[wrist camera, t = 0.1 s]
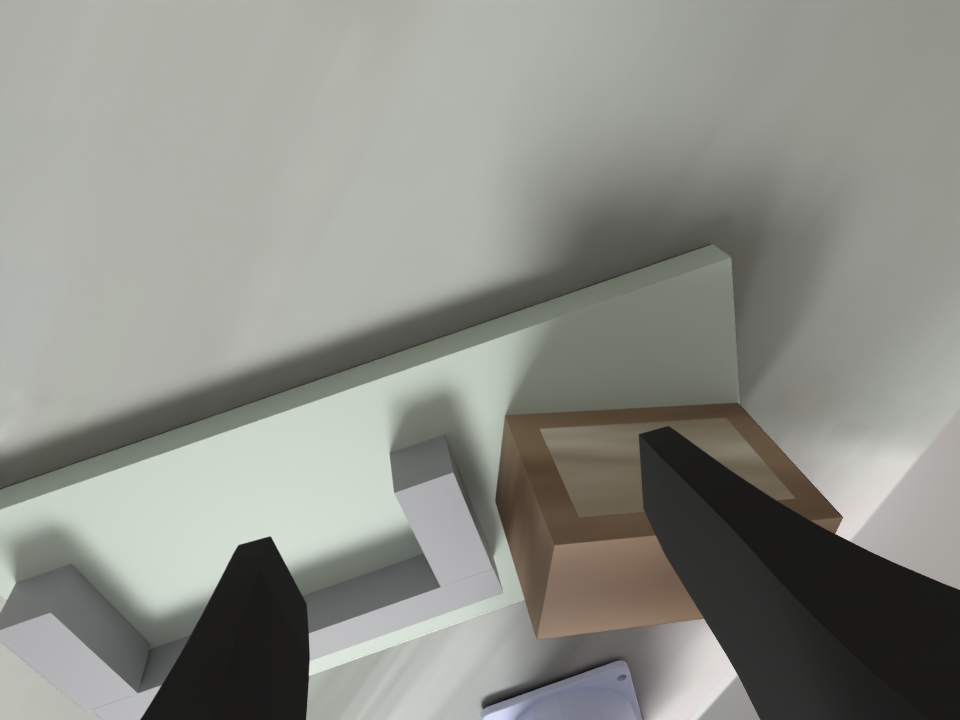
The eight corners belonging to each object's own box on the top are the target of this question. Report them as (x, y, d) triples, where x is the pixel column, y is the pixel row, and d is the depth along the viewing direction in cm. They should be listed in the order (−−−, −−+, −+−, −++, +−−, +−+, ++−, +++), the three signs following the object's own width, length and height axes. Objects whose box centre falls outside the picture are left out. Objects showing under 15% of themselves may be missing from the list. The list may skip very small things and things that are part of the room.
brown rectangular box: (710, 483, 26) (799, 606, 21) (495, 501, 25) (537, 639, 20) (738, 402, 24) (843, 516, 19) (505, 414, 23) (554, 544, 18)
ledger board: (732, 502, 29) (773, 557, 26) (159, 703, 29) (141, 780, 26) (713, 243, 22) (766, 283, 19) (-51, 506, 22) (-105, 583, 19)
